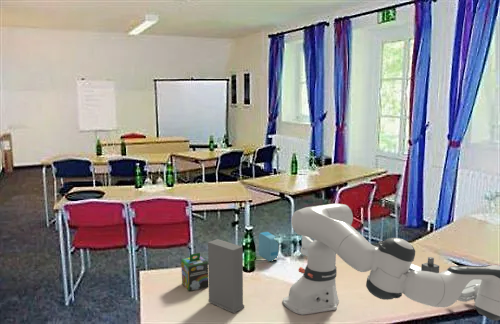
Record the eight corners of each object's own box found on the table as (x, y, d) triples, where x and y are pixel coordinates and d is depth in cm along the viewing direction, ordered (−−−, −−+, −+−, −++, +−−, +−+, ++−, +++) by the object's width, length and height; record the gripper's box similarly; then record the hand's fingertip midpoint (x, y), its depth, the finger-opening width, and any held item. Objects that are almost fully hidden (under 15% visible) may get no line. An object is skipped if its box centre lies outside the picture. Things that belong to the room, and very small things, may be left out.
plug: (429, 290, 196) (431, 261, 194) (420, 286, 201) (422, 257, 199) (437, 288, 199) (439, 259, 197) (428, 283, 203) (430, 255, 201)
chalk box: (200, 279, 208) (200, 247, 206) (209, 287, 200) (208, 254, 198) (181, 283, 204) (180, 251, 201) (188, 291, 196) (188, 258, 193)
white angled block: (295, 246, 243) (303, 233, 240) (310, 258, 240) (319, 245, 237) (292, 248, 240) (300, 235, 237) (308, 260, 237) (316, 247, 234)
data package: (278, 261, 230) (278, 237, 228) (270, 262, 228) (270, 239, 226) (266, 253, 240) (266, 230, 238) (258, 254, 238) (258, 232, 236)
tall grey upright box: (244, 308, 182) (244, 246, 177) (233, 313, 177) (233, 250, 173) (219, 297, 191) (218, 238, 187) (208, 302, 186) (207, 242, 182)
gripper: (465, 309, 172) (435, 294, 184) (501, 297, 182) (469, 284, 194) (467, 292, 171) (436, 279, 183) (502, 281, 181) (470, 269, 193)
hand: (453, 281), depth 189 cm, fingers open, 8 cm apart
